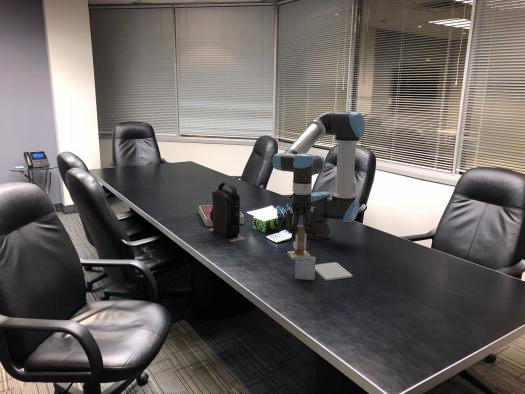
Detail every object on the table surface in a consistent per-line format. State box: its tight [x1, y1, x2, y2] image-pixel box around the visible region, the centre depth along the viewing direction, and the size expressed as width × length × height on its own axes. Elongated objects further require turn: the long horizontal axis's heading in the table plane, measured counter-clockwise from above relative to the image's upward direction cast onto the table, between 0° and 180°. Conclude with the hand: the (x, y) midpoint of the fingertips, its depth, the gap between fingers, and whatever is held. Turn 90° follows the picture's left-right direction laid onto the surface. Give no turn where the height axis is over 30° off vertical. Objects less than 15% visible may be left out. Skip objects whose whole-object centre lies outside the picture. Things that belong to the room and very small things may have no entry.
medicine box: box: [294, 256, 316, 281], centre depth 167 cm, size 8×4×9 cm, turn 80°
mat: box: [315, 262, 353, 282], centre depth 174 cm, size 14×12×1 cm
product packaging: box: [198, 204, 245, 228], centre depth 246 cm, size 22×28×5 cm
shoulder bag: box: [209, 181, 246, 243], centre depth 216 cm, size 23×9×28 cm, turn 37°
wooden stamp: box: [286, 224, 312, 260], centre depth 171 cm, size 6×8×13 cm
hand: (299, 247), depth 171 cm, fingers closed on wooden stamp, 3 cm apart
